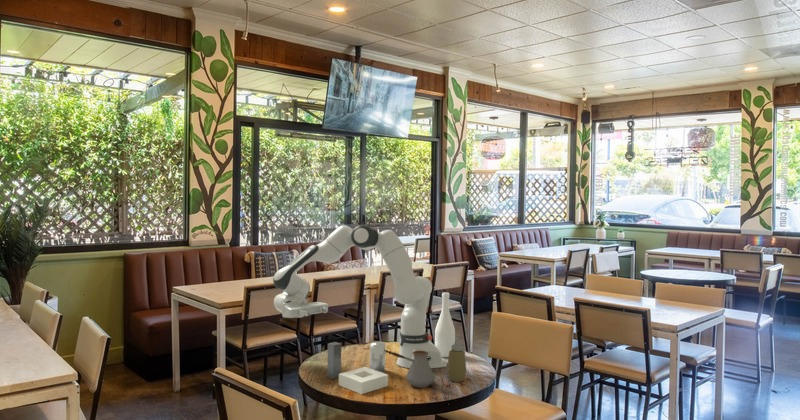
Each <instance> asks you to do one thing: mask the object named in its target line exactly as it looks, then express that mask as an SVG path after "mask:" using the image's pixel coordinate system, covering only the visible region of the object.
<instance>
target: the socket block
mask: <svg viewBox="0 0 800 420" xmlns="http://www.w3.org/2000/svg"><path fill="white" fill-rule="evenodd" d="M338 386H340V387H342V388H345V389H348V390H350V391H353V392H355V393H358V394H360V395H363V394H366V393H369V392H374V391H377V390H379V389H383V388H387V387H388V386H389V374H387V373H385V372H383V373H382V372H379V371H376V370H373V369H370V367H367V366H363V367H359V368H355V369H352V370H348V371H345V372H341V373H340V374H339V378H338Z"/></svg>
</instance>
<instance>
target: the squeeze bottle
mask: <svg viewBox="0 0 800 420" xmlns="http://www.w3.org/2000/svg"><path fill="white" fill-rule="evenodd" d="M463 349H464V346H463V344H461V342H460V338H459V336H455V343H454V345H452V350H450V351H449V357H447V358H448V361H447V366H446V372H447V376H448V379H449V380H450V381H451V382H456V383H459V382H463V381H464V379H465V377H466V374H467V362H466V352H465V350H463Z"/></svg>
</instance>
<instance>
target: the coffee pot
mask: <svg viewBox="0 0 800 420" xmlns="http://www.w3.org/2000/svg"><path fill="white" fill-rule="evenodd" d="M386 353H387V354H388V355H392V356H394V357H400V358H404V359H407V360H409V361H412V364H411V366H410V368H408V371H407V373H406V376H405V379H406V381H407V382H408V383H409V384H410V386H412V387H414V388H427V387H429V386H430V385H432V383H433V382H434V380H435V375H434V373H433V370H432V368H431V367H430V365H429V362H428V360H427V355H428V354H429V353H428V352H426V351H414V352H413V355H414V359H410V358H407V357H404V356H402V355H400V354H399V353H397V352H394V351H393V352H392V351H391V350H387V349H385V354H384V352H383V355H385V356H386Z"/></svg>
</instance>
